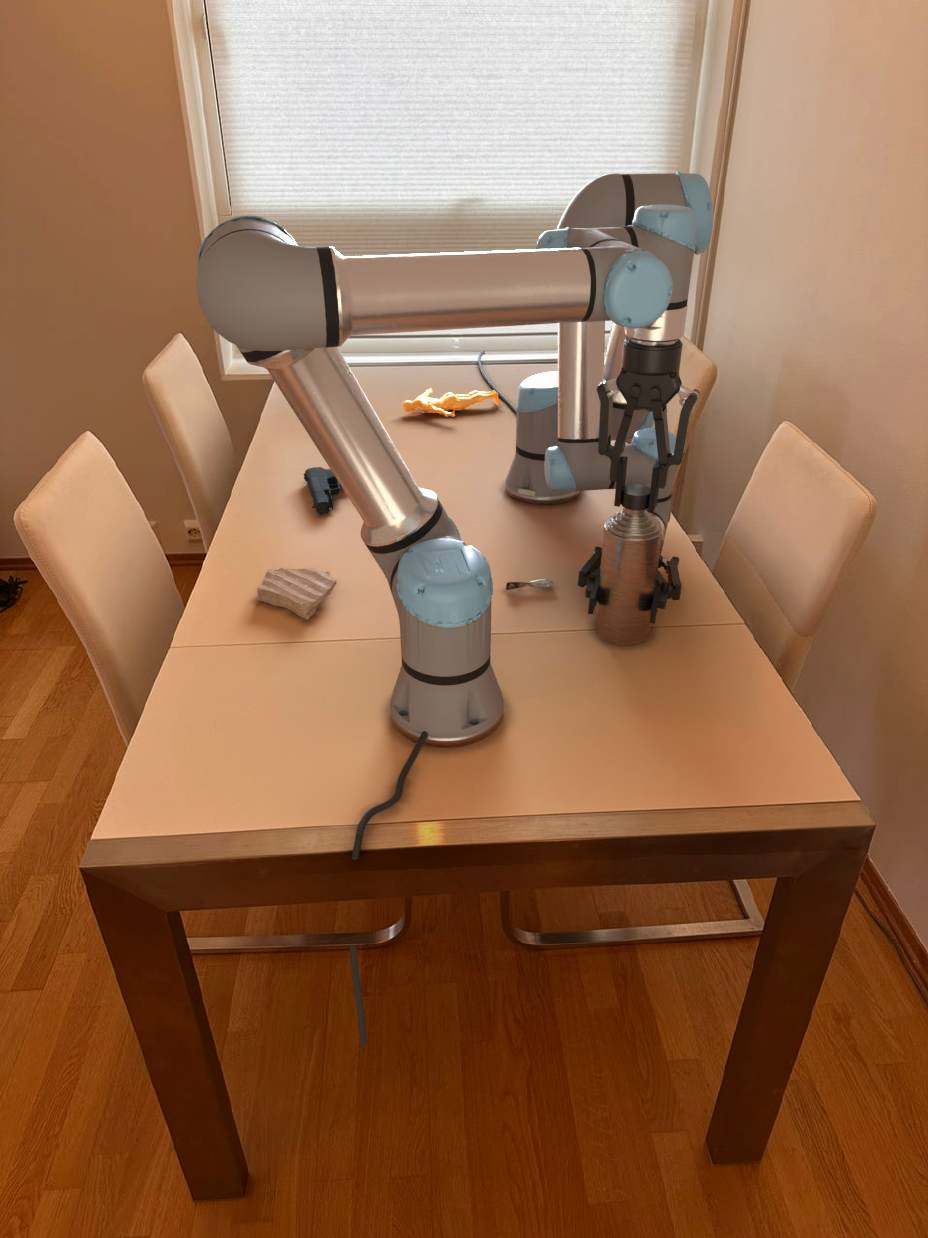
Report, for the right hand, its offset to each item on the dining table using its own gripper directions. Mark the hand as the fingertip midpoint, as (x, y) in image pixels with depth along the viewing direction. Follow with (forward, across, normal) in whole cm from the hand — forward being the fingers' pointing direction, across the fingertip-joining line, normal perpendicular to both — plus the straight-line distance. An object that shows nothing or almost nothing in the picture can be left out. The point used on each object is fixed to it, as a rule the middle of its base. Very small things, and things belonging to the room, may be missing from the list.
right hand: (621, 610), depth 131 cm
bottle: (-5, 0, -6) cm, 8 cm away
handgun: (-40, +63, -6) cm, 75 cm away
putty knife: (-13, +17, -6) cm, 22 cm away
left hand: (-5, 0, +15) cm, 16 cm away
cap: (-5, 0, +17) cm, 18 cm away
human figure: (-96, +56, -6) cm, 111 cm away
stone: (0, +53, -6) cm, 53 cm away
